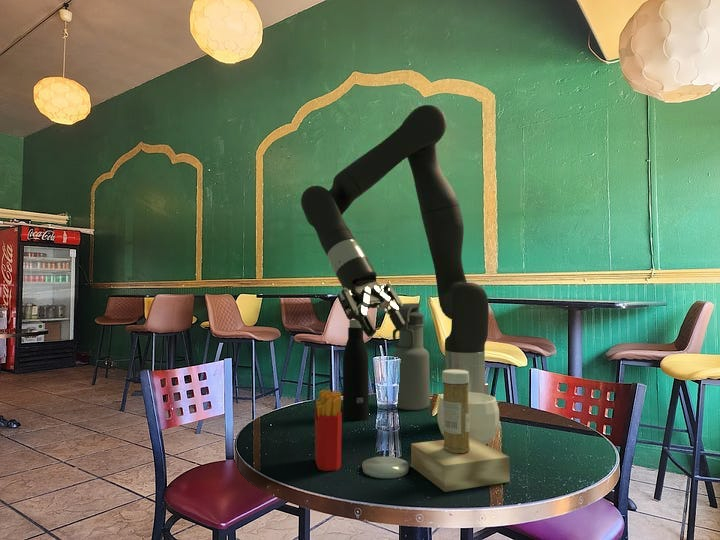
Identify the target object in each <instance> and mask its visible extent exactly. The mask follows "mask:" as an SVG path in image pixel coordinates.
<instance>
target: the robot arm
mask: <svg viewBox="0 0 720 540" xmlns="http://www.w3.org/2000/svg"><path fill="white" fill-rule="evenodd" d="M446 129H447V118H446V115H445V113H444V112H443V110H441V109H440V108H439V107H438V106H435V105H432V104H424V105H421V106H418V107H416V108H415V109H413V110H412V111H411V112H410V113H409V115H408V116H407V117H406V118H405V119H404V120H403V121H402V124H401V125H400V126H399V127H398V128H397V129H395V131H393V132H392V133H391V134H390V135H388V136H387V137H386V138H385V139H384V140H382V141H381V142H380V143H378V144H377V145H375V146H374V147H373V148H372V149H370V150H368V151H367V152H366V153H364V154H363V155H361V156H360V157H359V158H357V159H355V160H354V161H353V162H352V163H350V164H348V165H347V166H346V167H344V168H343V169H342V170H341V171H339V172H337V174H336V175H335V176H334V177H333V180H332V185H331V188H330V189H329V190H328V189H327V188H326V187H323V186H321V185H311V186H309V187H308V188H306V189H305V190H304V191H303V192H302V195H301V199H300V205H301V209H302V210H303V214H304V216H305V219H306V221H307V223H309V225H310V226H311V227H313V229H314V230H315V233H316V235H317V238H318V241H319V243H320V245H321V247H322V249H323V251H324V253H325V255H326V257H327V258H328V261H329V263H330V266H331V269H332V270H333V272H334V274H335V277H336V278H337V279H338V281H339V283H340V285H341V287H342V289H341V290H340V292H339V293H337V296H336V297H337V299H338V301H339V304H340V306H341V308H342V309H343V313H344V314H345V317H346V319H348V320H349V321H350V320H356V321H358V322H359V323H360V325H361V327H362V329H363V334H365V335H366V336H367V337H368V338H369V337H373V336H374V335H375V334H376V333H377V328H376V326H375V325H374V322H373V321H372V320H371V318H370V316H369V314H368V310H369V309H378V311H382V312H384V313H386V314H387V315H388V318H389V319H390V321H391V323H392V324H393V326H394V329H396V330H397V332H399V331H400V330H402V329H403V328H404V327H405V321H404V320H403V318H402V316H401V315H400V313H399V309H400V308H401V307H402V306H403V304H404V303H403V302H402V301H401V299H400V297H399V296H398V294H397V292H396V291H395V289H394V288H393V286H392V285H391V283H389V282H387V283H386V284H384V285H382V286H381V285H380V284H379V283H378V282H377V272H376V271H375V269H374V266H372V264H371V261H370V260H369V259H368V257H367V255H366V253H365V251H364V250H363V248H362V246H360V244H359V243H358V242H357V240H356V238H355V236H354V235H353V233H352V231H351V230H350V228H349V226H347V224H346V222H345V220H344V218H343V216H342V215H343V214H345V212H346V211H347V210H348V209H349V207H351V205H352V203H353V202H354V201H355V200H356V199H358V198H360V196H362V195H363V194H364V193H366V192H367V191H369V190H370V189H371V188H372V187H374V186H375V185H376V184H377V183H379V182H380V180H382V179H383V178H384V177H386V175H388V174H389V172H391V171H392V170H394V168H395V167H397V166H398V165H399V164H400V163H402V161H404V160H405V159H407V161H408V164H409V166H410V169H411V173H412V179H413V181H414V186H415V192H416V196H417V200H418V204H419V205H418V206H419V210H420V215H421V219H422V223H423V226H424V227H423V228H424V232H425V235H426V239H427V243H428V247H429V252H430V256H431V260H432V264H433V268H434V274H435V282H436V288H437V297H438V303H439V308H440V310H441V312H442V313H443V315H444V316H445V317H446V318H447V319H449V320H451V326H450V327H451V328H450V333H449V335H448V336H447V337H446V338H445V341H444V370H451V369H457V370H465V371H468V372H469V382H468V392H473V393H482V394H487V395H490V385H489V384H488V382H487V383H486V362H485V361H486V358H485V356H486V355H485V353H486V352H485V349H486V348H485V347H486V342H487V340H488V335H489V311H490V309H489V308H490V307H489V305H490V304H489V298H488V294H487V293H486V291H485V289H484V288H483V287H482V286H481V285H480V284H478V283H475V282H468V281H467V277H466V274H465V271H464V267H463V260H462V257H463V255H462V252H463V244H464V243H463V242H464V233H465V232H464V230H465V229H464V228H465V227H464V220H463V216H462V211H461V207H460V203H459V199H458V196H457V195H456V193H455V190H454V189H453V187H452V186H451V184H450V182H449V181H448V180H447V177H446V176H445V174H444V172H443V170H442V167H441V164H440V159H439V156H438V149H437V143H439V141H440V140H441V139H442V138H443V136H444V135H445V132H446ZM383 300H384V301H383ZM354 301H355V303H354ZM349 307H350V308H351V310H352V311H351V310H350V309H349Z"/></svg>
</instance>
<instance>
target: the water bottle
mask: <svg viewBox="0 0 720 540" xmlns="http://www.w3.org/2000/svg"><path fill="white" fill-rule="evenodd" d="M420 307H421V303H419V302H417V303H416V302H413V303H411V302H410V303H406V302H405V303H403V306H402V307H401V308H400V309H399V313H400V315H401V316H402V318H403V320H404V321H405V327H404V328H403V329H402V330H400V331H397V330H396V328H394V329H393V330H392V345H393V347H394V348H396V349H395V350H394V352H393V357H398V358H400V359H401V363H400V383H399V393H398V404H397V407H396V408H397V409H399V410H405V411H422V410H425V409H427V408H429V407H430V404H431V403H430V402H431V401H430V399H431V397H430V395H431V394H430V393H431V392H430V390H431V389H430V353H429V351H428V350H427V349H425V348H424V326H425V324H424V323H425V322H424V321H425V320H424V318H425V314H423V313H422V312H421V313H420V309H419V308H420ZM397 332H398V338H399V339H398V342H399V343H398V344H397V341H396V340H397V338H396V337H397ZM393 357H392V358H393Z"/></svg>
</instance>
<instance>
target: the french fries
mask: <svg viewBox="0 0 720 540" xmlns="http://www.w3.org/2000/svg"><path fill="white" fill-rule="evenodd" d="M318 393H319V397H318V398H317V399H316V402H315V405H316V406H315V407H314V434H315V435H314V439H315V440H314V441H315V444H314V445H315V446H314V447H315V448H314V449H315V450H314V453H315V454H314V455H315V457H314V458H315V464H316V466H317V468H318V470H321V471H324V472H328V471H329V472H330V471H339V469H341V468H340V467H342V434H343V433H342V431H343V430H342V425H343V421H342V420H343V412H341V409H342V408H341V407H342V392H340V391H335V390H333V391H331V389H329V390H328V389H321V390H320V391H318Z"/></svg>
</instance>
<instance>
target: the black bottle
mask: <svg viewBox="0 0 720 540" xmlns="http://www.w3.org/2000/svg"><path fill="white" fill-rule="evenodd" d="M354 303H355V301H354ZM349 309H350V311H352V310H351V308H350V307H349ZM348 323H349V324H348V328H347V341H346V344H345V347H344V351H343V356H342V420H345V421H349V422H350V421H351V422H361V420H362V421H366V420H368V419H369V418H370V416H369V415H370V411H369V409H370V403H369V402H370V401H369V400H370V399H369V397H370V395H369V394H370V393H369V390H370V388H369V387H370V385H369V384H370V382H369V378H370V377H369V376H370V375H369V372H370V371H369V370H370V369H369V366H370V365H369V354H368V348H367V345H366V343H365V339H364V331H363V329H362V327H361V325H360V323H359V322H358V321H356V320H355V319H351V320H349V321H348Z"/></svg>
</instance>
